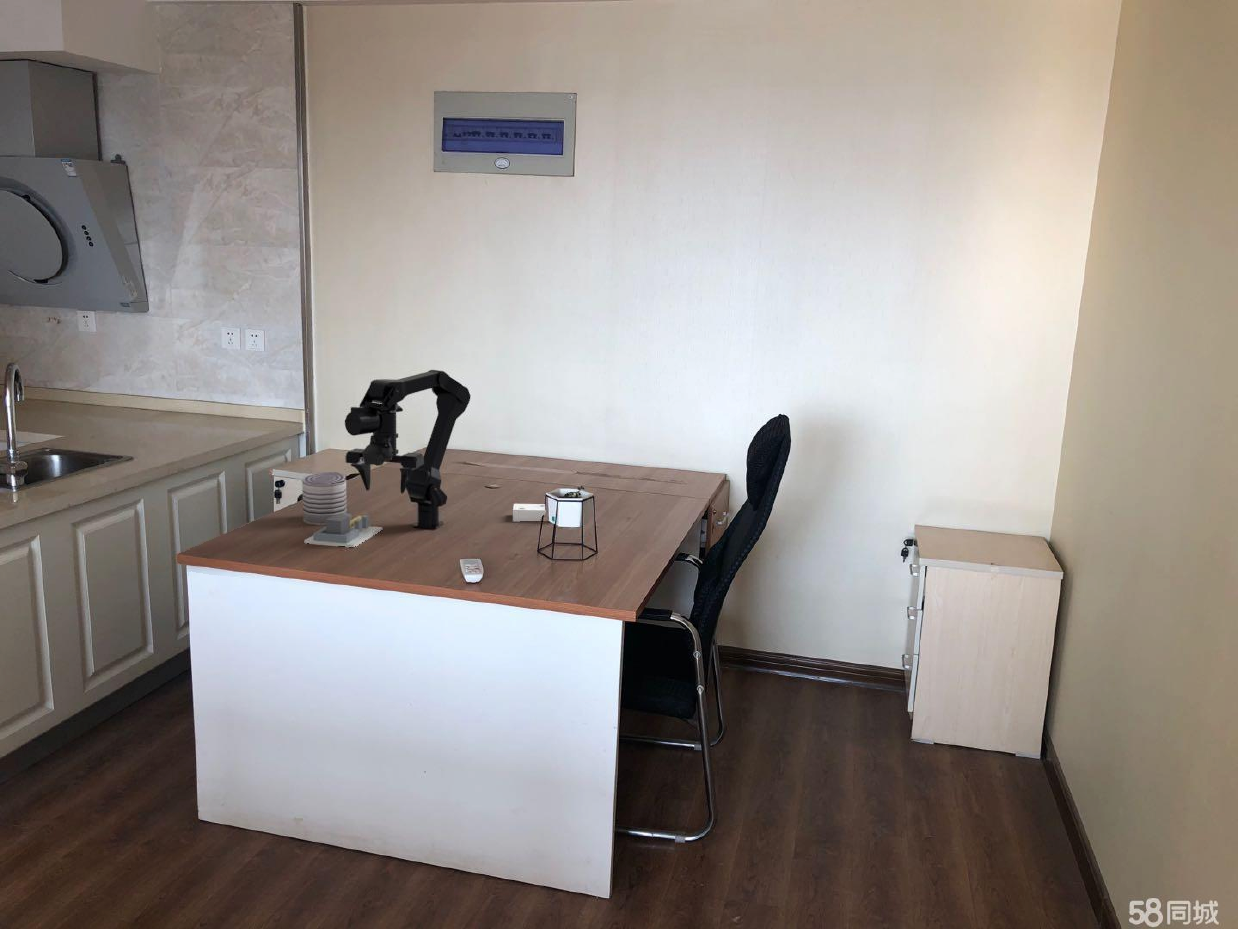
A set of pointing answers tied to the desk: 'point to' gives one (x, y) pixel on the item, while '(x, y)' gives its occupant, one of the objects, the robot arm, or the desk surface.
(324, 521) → the can
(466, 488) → the desk surface
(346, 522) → the plug
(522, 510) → the bracket
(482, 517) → the desk surface
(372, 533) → the board
